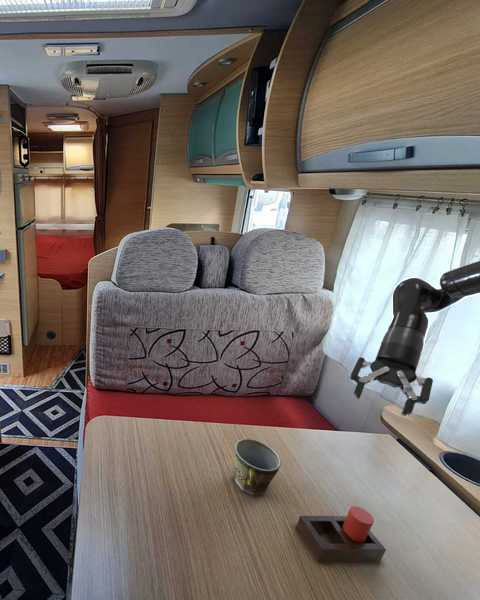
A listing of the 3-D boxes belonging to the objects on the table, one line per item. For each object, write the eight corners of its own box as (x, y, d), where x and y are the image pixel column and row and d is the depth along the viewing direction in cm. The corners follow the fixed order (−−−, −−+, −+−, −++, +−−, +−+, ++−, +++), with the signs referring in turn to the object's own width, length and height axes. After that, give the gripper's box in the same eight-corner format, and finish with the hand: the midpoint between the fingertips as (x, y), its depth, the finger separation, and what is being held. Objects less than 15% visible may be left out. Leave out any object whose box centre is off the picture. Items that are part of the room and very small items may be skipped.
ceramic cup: (232, 462, 90) (239, 432, 86) (273, 480, 84) (282, 449, 81) (221, 497, 79) (229, 466, 76) (268, 520, 74) (278, 487, 71)
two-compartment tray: (352, 528, 73) (357, 515, 71) (379, 562, 66) (386, 549, 65) (295, 528, 73) (300, 515, 71) (317, 563, 66) (322, 549, 65)
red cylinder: (357, 541, 70) (371, 511, 67) (361, 558, 67) (376, 527, 64) (336, 532, 72) (348, 503, 69) (339, 548, 69) (352, 518, 66)
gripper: (366, 333, 85) (345, 388, 81) (445, 353, 75) (425, 417, 72) (363, 344, 90) (342, 397, 87) (436, 365, 81) (417, 424, 77)
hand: (380, 406), depth 79 cm, fingers open, 8 cm apart
